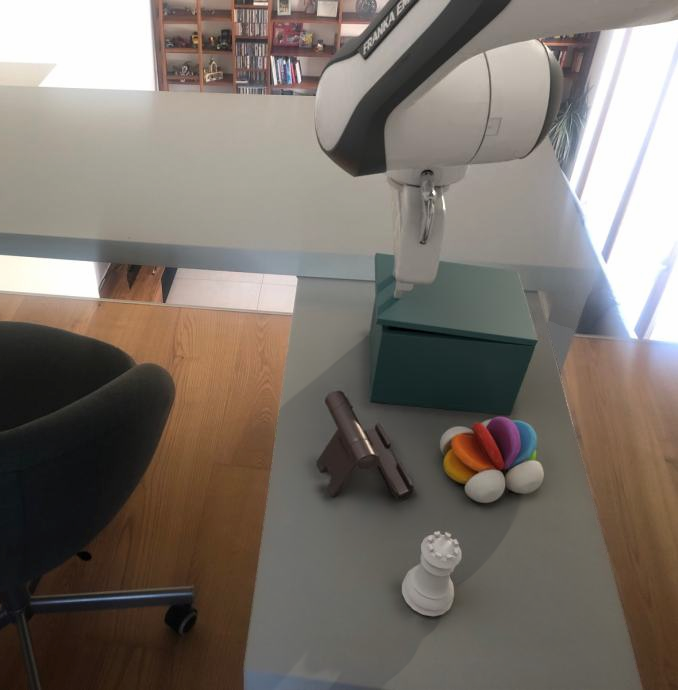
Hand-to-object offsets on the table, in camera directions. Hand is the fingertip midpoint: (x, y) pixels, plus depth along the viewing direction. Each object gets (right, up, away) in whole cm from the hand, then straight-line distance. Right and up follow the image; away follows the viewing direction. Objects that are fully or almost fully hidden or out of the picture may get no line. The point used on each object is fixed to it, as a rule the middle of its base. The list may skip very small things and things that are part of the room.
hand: (402, 269), depth 75 cm
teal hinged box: (+6, -12, +9) cm, 16 cm away
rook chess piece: (-1, -31, -13) cm, 34 cm away
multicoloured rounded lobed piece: (+8, -22, -3) cm, 23 cm away
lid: (+6, -3, +2) cm, 7 cm away
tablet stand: (-5, -22, -3) cm, 23 cm away
